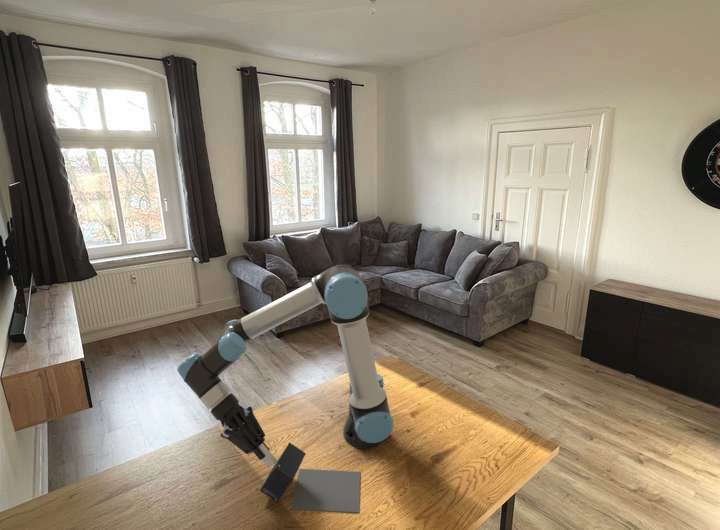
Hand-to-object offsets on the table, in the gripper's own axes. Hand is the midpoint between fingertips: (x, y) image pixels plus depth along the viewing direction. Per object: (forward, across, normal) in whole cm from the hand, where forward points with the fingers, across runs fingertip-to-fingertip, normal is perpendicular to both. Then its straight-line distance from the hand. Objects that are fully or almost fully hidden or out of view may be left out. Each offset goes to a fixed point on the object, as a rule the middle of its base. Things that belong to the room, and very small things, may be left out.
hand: (272, 464), depth 112 cm
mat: (+17, -5, +4) cm, 18 cm away
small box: (+6, -1, -5) cm, 8 cm away
